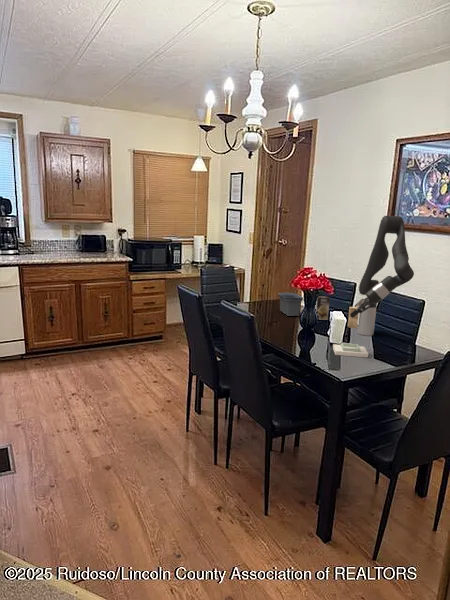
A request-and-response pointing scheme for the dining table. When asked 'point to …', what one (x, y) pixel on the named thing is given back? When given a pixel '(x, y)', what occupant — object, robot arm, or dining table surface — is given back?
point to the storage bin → (290, 303)
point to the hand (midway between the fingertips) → (350, 315)
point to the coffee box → (322, 307)
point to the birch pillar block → (352, 321)
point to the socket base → (350, 350)
